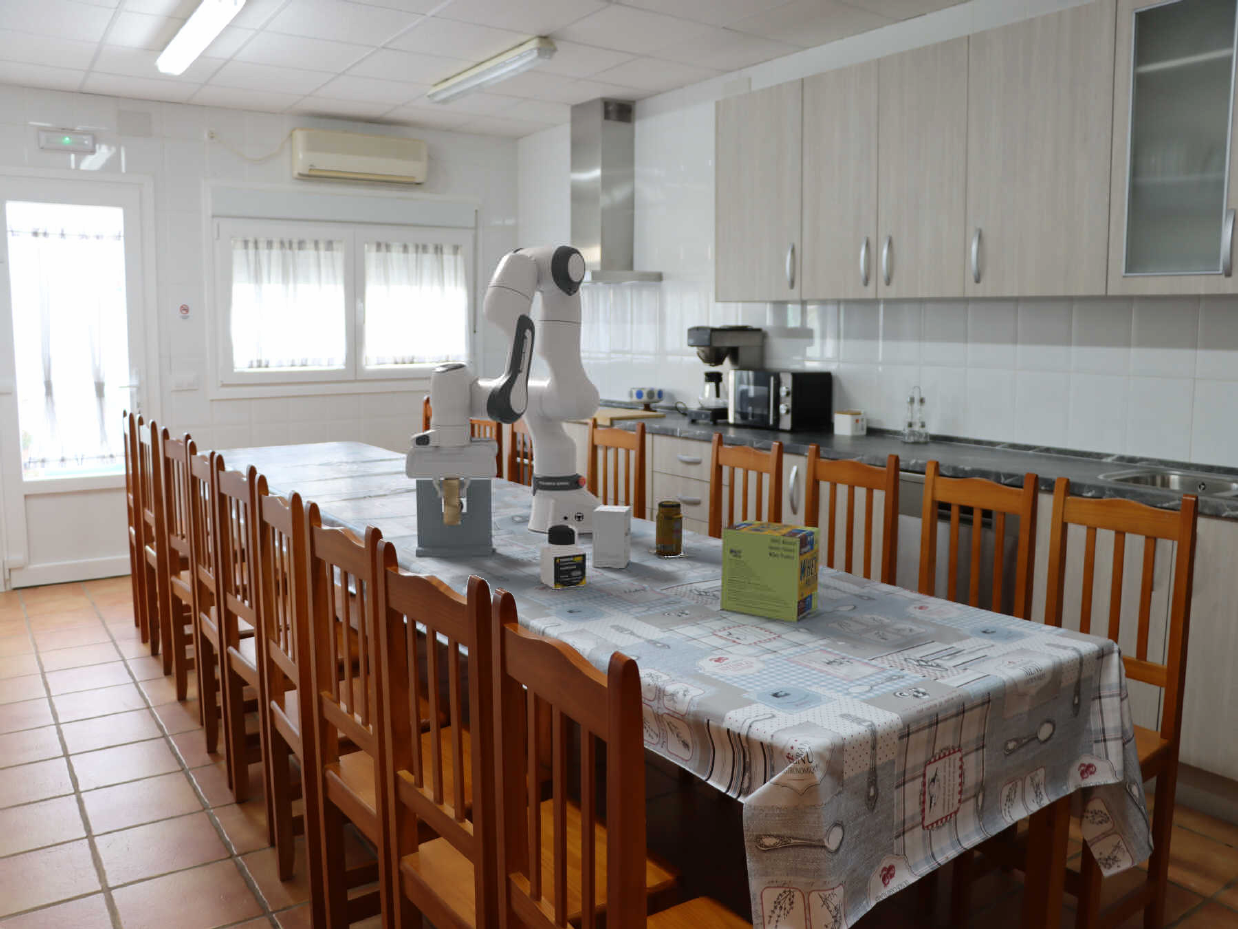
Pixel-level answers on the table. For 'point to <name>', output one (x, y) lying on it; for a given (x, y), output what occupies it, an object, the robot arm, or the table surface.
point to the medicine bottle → (563, 558)
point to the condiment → (668, 530)
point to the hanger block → (452, 501)
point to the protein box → (770, 569)
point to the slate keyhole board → (454, 539)
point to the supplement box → (611, 536)
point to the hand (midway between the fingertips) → (451, 497)
